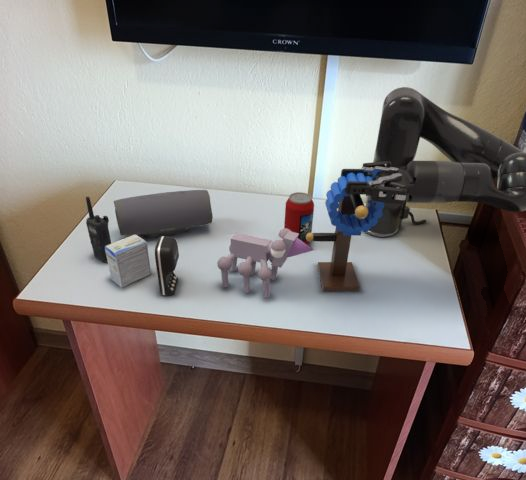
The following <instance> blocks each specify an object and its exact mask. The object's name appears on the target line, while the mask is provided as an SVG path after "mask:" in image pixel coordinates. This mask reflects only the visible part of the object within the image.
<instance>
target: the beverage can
mask: <svg viewBox="0 0 526 480" xmlns="http://www.w3.org/2000/svg"><path fill="white" fill-rule="evenodd" d="M314 212H315V203H314V200H313V196H311V194H310V193H306V192H301V191H299V192H293V193H291V194H289V196H288V198H287V200H286V201H285V211H284V226H283V229H289V230H291V232H295V233H299V235H298V237H297V238H298V239H300V240H301V241H302V242H304V243H305V244H306V245H308V246H309V244H310V243H311V242H308V241H307V240H306V235H307V233H309V232H312V233H313V231H312V230H313V222H314Z"/></svg>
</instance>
